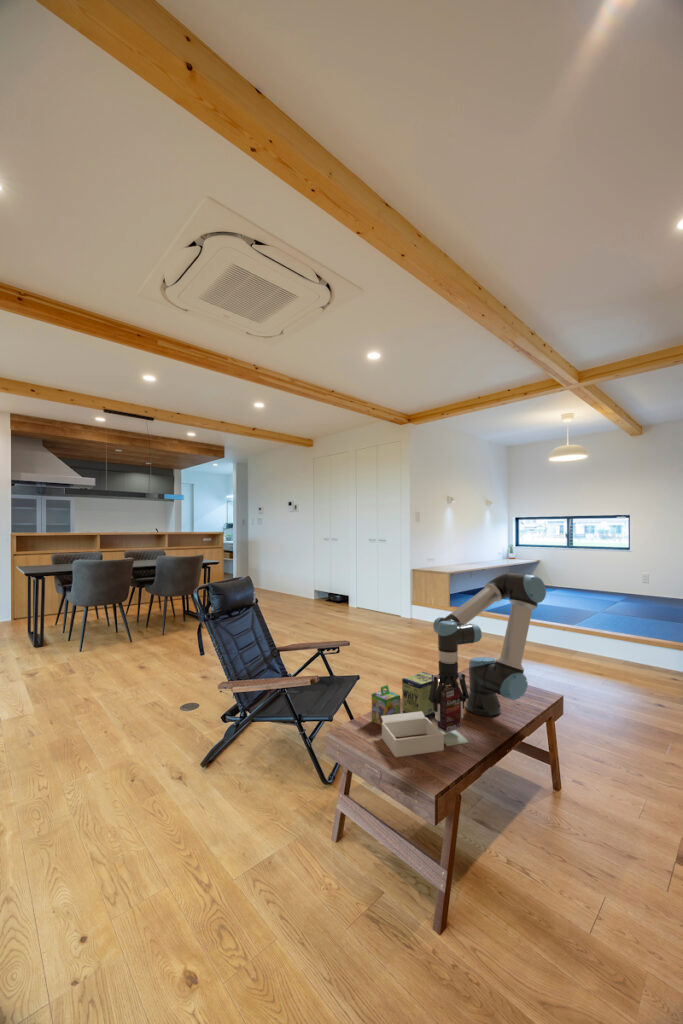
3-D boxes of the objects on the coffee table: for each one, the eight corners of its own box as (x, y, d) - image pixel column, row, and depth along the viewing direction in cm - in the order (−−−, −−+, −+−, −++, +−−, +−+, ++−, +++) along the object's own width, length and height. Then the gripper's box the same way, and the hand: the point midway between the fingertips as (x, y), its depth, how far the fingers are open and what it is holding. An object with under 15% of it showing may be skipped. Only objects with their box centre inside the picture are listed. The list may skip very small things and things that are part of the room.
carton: (423, 729, 165) (423, 710, 166) (447, 754, 146) (447, 733, 147) (379, 734, 161) (379, 715, 161) (398, 761, 141) (398, 739, 142)
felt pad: (451, 727, 167) (451, 726, 167) (468, 743, 154) (468, 741, 154) (431, 730, 165) (431, 728, 165) (447, 745, 152) (447, 744, 152)
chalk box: (386, 729, 166) (386, 692, 167) (370, 721, 173) (370, 686, 174) (401, 722, 171) (401, 687, 172) (385, 715, 178) (385, 681, 179)
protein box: (401, 713, 180) (401, 678, 181) (423, 704, 190) (423, 671, 191) (420, 721, 172) (419, 684, 173) (442, 711, 182) (441, 676, 183)
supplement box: (446, 734, 155) (445, 692, 156) (437, 729, 159) (436, 688, 160) (461, 728, 160) (460, 687, 161) (452, 723, 164) (451, 683, 165)
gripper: (467, 656, 168) (468, 711, 166) (418, 660, 162) (419, 717, 161) (477, 661, 161) (478, 719, 159) (427, 665, 155) (428, 725, 154)
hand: (449, 718), depth 160 cm, fingers closed on supplement box, 9 cm apart
